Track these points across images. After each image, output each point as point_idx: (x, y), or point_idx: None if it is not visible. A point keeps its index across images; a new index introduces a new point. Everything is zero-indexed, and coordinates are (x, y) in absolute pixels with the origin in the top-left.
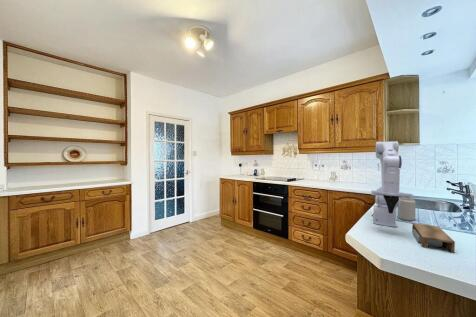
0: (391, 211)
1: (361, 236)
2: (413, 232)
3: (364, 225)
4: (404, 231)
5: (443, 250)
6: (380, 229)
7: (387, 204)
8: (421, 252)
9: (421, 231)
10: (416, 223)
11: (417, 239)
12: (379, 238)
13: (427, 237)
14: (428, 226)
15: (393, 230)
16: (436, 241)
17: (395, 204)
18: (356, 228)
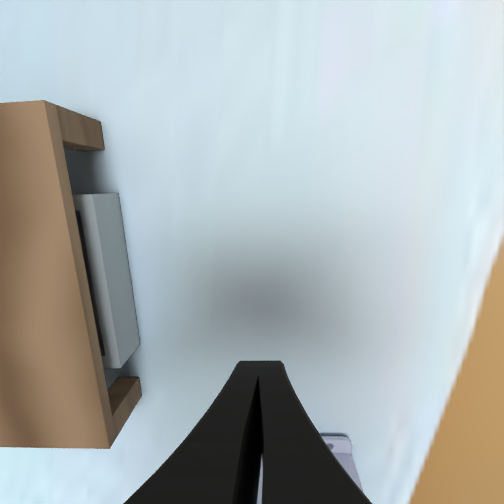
0: (250, 372)
1: (469, 85)
2: (129, 341)
3: (417, 369)
4: (181, 380)
5: None
6: (317, 339)
7: (335, 466)
8: (107, 5)
9: (53, 246)
10: (86, 445)
11: (113, 218)
12: (340, 127)
13: (15, 104)
14: (16, 411)
15: None
16: None
17: (149, 481)
18: (485, 266)
